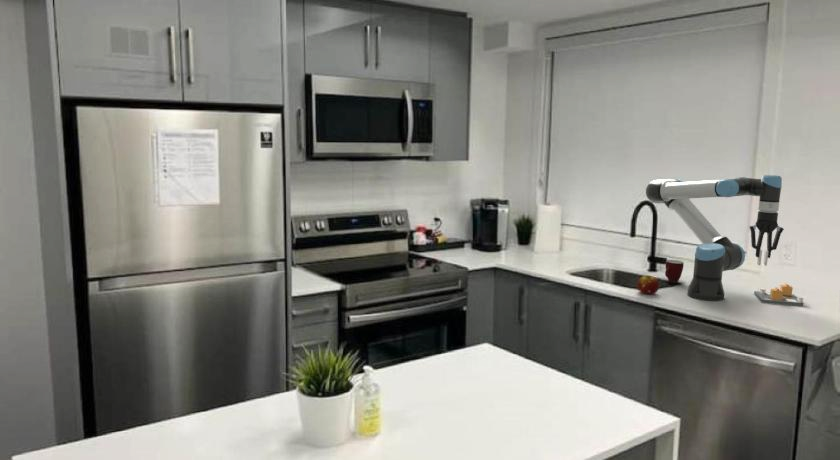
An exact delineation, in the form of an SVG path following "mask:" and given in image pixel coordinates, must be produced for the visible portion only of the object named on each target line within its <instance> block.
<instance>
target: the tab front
mask: <svg viewBox="0 0 840 460" xmlns="http://www.w3.org/2000/svg"><path fill="white" fill-rule="evenodd" d="M782 296H783V291H782V290H781V289H780V288H778V287H775V288H770V298H771V299H774V300H782Z"/></svg>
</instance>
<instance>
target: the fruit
mask: <svg viewBox="0 0 840 460" xmlns="http://www.w3.org/2000/svg"><path fill="white" fill-rule="evenodd" d="M636 286H637V290H638V291H639V292H640V293H642V294H645V295H655V294H656V293H657V292H658V291H659V288H660V283H659V280H658V278H656V277H655V276H652V275H650V274H649V275H642V276H641V277H640V278H639V279H638V281H637V284H636Z"/></svg>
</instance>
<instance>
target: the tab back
mask: <svg viewBox="0 0 840 460" xmlns="http://www.w3.org/2000/svg"><path fill="white" fill-rule="evenodd" d="M779 289H781V290H782V291H783V295H786V296H792V294H793V289H794V287H793V286H792V285H790V284H788V283H784V284H780V288H779Z"/></svg>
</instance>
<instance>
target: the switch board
mask: <svg viewBox="0 0 840 460" xmlns="http://www.w3.org/2000/svg"><path fill="white" fill-rule="evenodd" d="M770 292H771V291H770ZM770 292H768V291H766V289H765V287H760V288H759V291H758V290H755V291H754V293H753V295H754V296H755V297H756V299H757V300H759V302H760V303H761V304H770V305H782V306H795V307H804V305H805V304H804V303H805V302H804V297H803V296H802V295H795V294H793V293H792V296H786V295H783V296H782V300H774V299H771V298H770Z"/></svg>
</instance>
